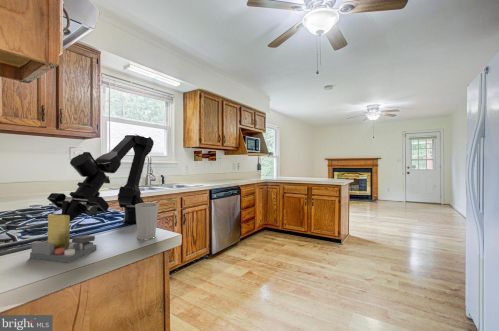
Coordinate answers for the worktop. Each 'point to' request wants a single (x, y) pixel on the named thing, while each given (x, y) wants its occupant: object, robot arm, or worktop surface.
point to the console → (60, 251)
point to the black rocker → (83, 239)
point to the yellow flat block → (59, 230)
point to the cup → (146, 220)
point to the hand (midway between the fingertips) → (61, 225)
